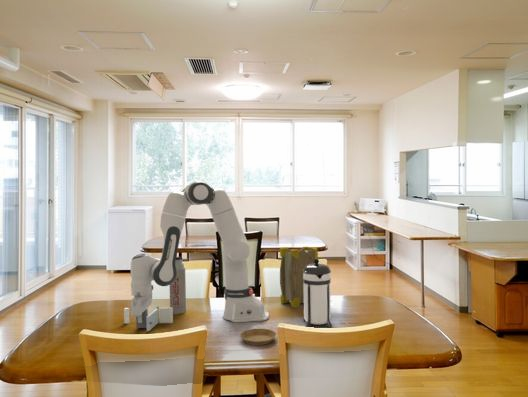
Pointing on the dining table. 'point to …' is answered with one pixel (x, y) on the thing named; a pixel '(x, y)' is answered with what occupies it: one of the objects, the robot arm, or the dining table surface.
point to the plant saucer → (258, 336)
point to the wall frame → (164, 314)
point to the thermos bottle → (178, 289)
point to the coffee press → (317, 294)
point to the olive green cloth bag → (294, 273)
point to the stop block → (144, 323)
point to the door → (152, 319)
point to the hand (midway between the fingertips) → (142, 320)
